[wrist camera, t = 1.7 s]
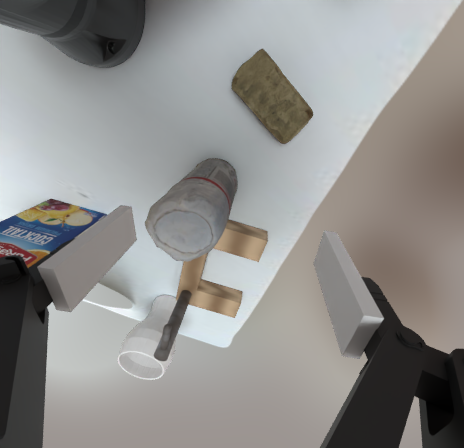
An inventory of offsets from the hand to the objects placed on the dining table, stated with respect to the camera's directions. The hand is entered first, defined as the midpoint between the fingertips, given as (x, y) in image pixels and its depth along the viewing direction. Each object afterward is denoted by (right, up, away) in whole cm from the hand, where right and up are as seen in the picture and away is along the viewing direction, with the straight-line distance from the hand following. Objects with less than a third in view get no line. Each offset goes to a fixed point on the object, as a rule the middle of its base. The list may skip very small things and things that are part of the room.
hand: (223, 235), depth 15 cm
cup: (-16, -20, +42) cm, 49 cm away
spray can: (-2, +9, +24) cm, 26 cm away
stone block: (+6, +19, +18) cm, 27 cm away
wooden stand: (-2, -8, +33) cm, 34 cm away
